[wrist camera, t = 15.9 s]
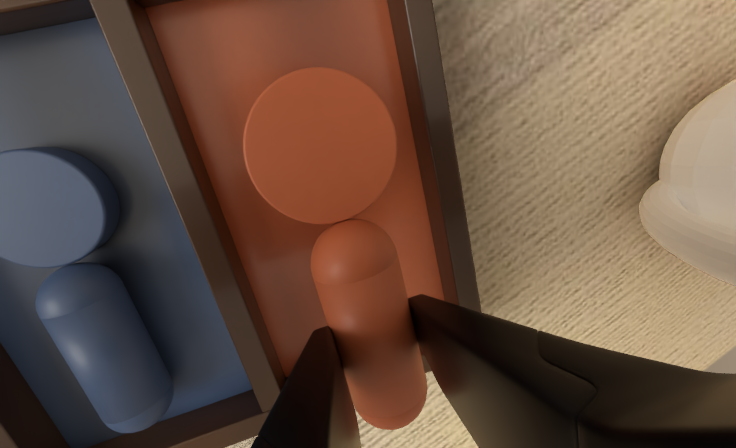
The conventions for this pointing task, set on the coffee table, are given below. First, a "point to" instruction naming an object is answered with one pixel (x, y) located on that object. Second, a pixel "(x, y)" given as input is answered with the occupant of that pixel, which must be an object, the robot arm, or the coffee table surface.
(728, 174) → the cat figurine
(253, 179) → the terracotta spoon
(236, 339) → the cutlery tray
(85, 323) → the blue spoon
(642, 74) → the coffee table surface
